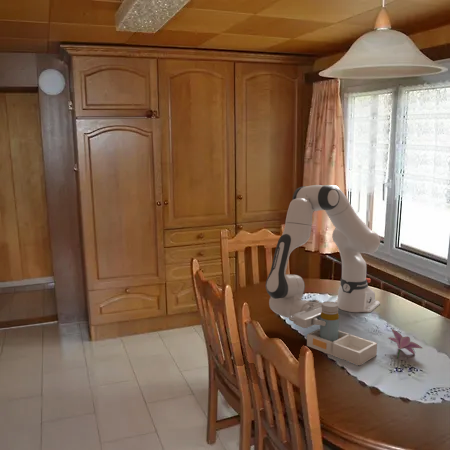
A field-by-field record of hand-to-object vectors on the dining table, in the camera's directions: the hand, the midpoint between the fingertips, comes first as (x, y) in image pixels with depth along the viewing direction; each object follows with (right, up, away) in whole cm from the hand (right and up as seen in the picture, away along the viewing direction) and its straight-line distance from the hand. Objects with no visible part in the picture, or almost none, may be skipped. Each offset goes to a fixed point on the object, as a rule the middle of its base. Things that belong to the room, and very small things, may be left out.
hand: (331, 321), depth 182 cm
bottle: (-1, -8, +2) cm, 9 cm away
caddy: (+3, -11, -2) cm, 11 cm away
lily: (+25, -12, -5) cm, 28 cm away
